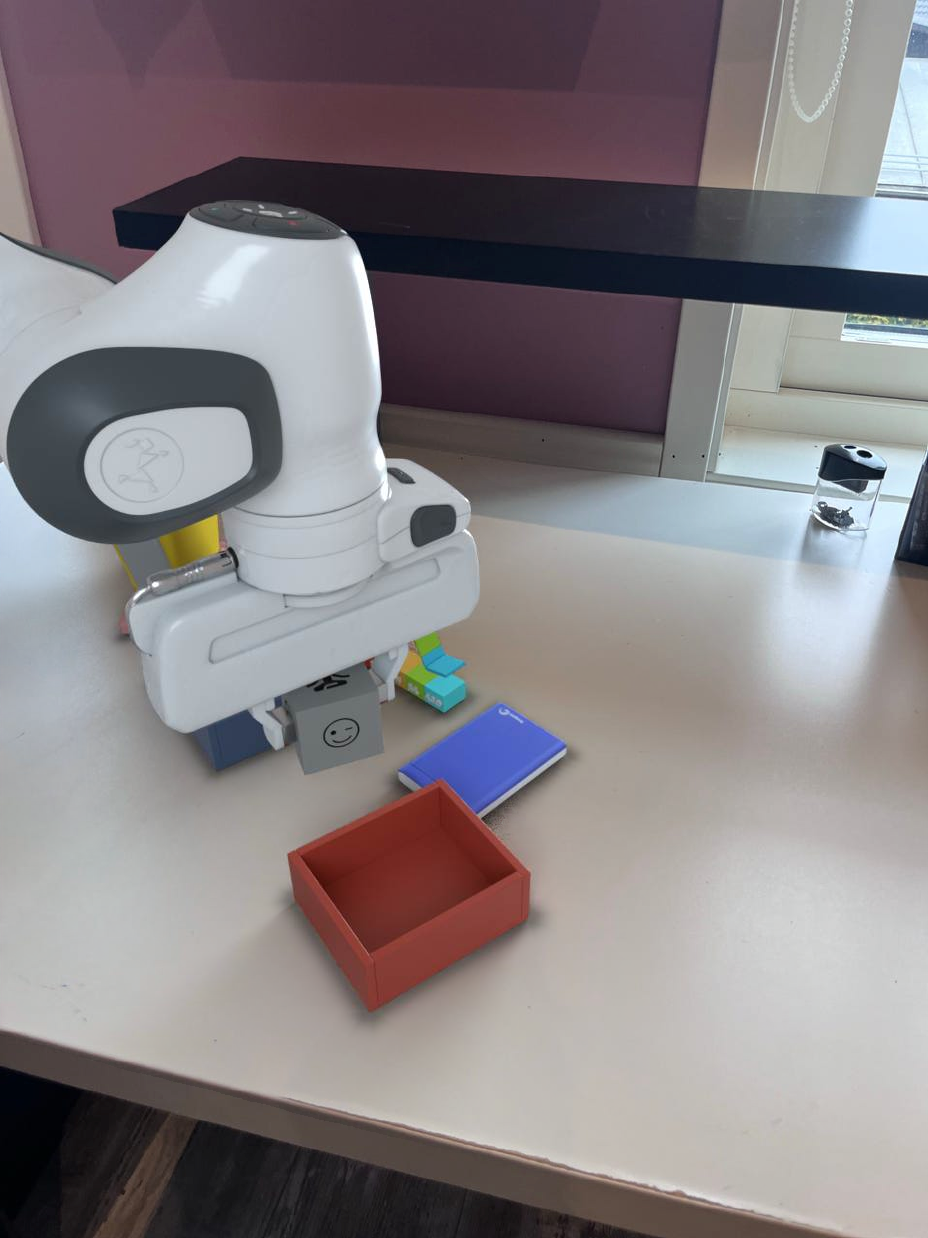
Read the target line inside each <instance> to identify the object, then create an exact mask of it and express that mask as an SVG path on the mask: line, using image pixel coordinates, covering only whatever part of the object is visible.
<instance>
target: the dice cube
mask: <svg viewBox="0 0 928 1238" xmlns="http://www.w3.org/2000/svg"><path fill="white" fill-rule="evenodd" d="M367 667H368V666H366V665H365V663H364V661H363V662H361V663H358V664H356V665H353V666H351V667H348V668H346V669H344V670H341V671H339V672H336V673H334V674H331V675H329V676H327V677H324V678H322V679H319V680H317V681H314V682H312V683H310V684H307V685H305V686H302V687H300V688H297V689H295V690H293V691H290V692H288V693H285V694H283V695H281V700H282V706H284V708H285V709H286V710H287V711H288V715H291V716H292V718H293V720H294V724H295V730H296V737H297V741H296V742H294V743H292V745H293V748H294V751H295V753H296V755H297V759H298V761H299V764H300V766H301V768H302V772H303V773H304V776H309V775H312V774H315V773H316V774H317V773H319V772H322V771H326V770H331V769H333V768H337V767H340V766H344V765H348V764H350V763H351V764H352V763H354V762H357V761H361V760H365V759H369V758H372V757H376V756H378V755H382V754H385V749H384V748H385V747H384V735H383V734H384V733H383V723H382V722H383V721H382V712H381V711H382V710H381V705H380V699H379V690H378V688H377V686H376V684H375V682H374V681H373V679H372V677H371V675H370V673H369V671H368V670H369V669H368V668H367Z"/></svg>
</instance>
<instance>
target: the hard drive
mask: <svg viewBox="0 0 928 1238" xmlns="http://www.w3.org/2000/svg"><path fill="white" fill-rule="evenodd" d="M567 748H568V747H567V743H566V742H565V741H564V740H562V739H561V738H559V737H557V736H556V735H554V734H553V733H552V732H550V731H548V730H547V729H545V728H543V727H542V726H541V725H539V724H536V723H535V722H534V721H532V720H531V719H529V718H527V717H526V716H524V715H523V714H521V713H520V712H518V711H516V710H514V709H513V708H512V707H510V706H508V705H507V704H505V703H504V702H500V701H498V702H497V703H496V704H494V705H492V706H491V707H489V708H488V709H486V710H485V711H484V712H482V713H481V714H479V715H478V716H476V717H475V718H473V719H472V720H470V721H468V722H467V723H466V724H464V725H463V726H461V727H460V728H459V729H457V730H455V731H453V732H452V733H451V734H449V735H448V736H447V737H445V738H443V739H442V740H441V741H439V742H438V743H436V744H434V745H433V746H431V747H430V748H428V749H427V750H425V751H424V752H423V753H421V754H419V755H418V756H416V757H415V758H413V759H412V760H411V761H409V762H408V763H406V764H405V765H403V766H401V767H400V768H398V769H397V774H398V780H399V781H400V782H401V784H403V786H405V787H406V788H408V789H410V791H412V793H413V792H415V791H417V790H419V789H421V788H423V787H425V786H427V785H429V784H431V783H433V782H435V781H437V780H439V779H441V778H442V779H443V780H444V781H445V782H446V783H447V784H448V785H449V786H450V787H451V788H452V789H453V790H454V791H455V792H456V793H457V795H458V796H459V797H460V798H461V799H462V800H463V801H464V802H465V803H466V804H467V805H468V806H469V807H470V808H471V810H472V811H473V812H474V813H475V814H476V815H477V816H478V817H479V818H480V819H481V820H482V818H483V817H485V816H486V815H487V814H489V813H490V812H491V811H493V810H494V809H495V808H497V807H498V806H499V805H501V804H502V803H503V802H504V801H506V800H507V799H508V798H510V797H512V795H514V794H515V793H516V792H518V791H519V790H520V789H522V788H523V787H524V786H526V785H527V784H529V783H530V782H531V781H533V780H534V779H535V778H537V777H538V776H539V775H540V774H542V773H543V772H544V771H546V770H547V769H548V768H549V767H551V766H552V765H554V764H555V763H556V762H558V761H559V760H560V759H561V758H563V757H564V756H566V754H567Z"/></svg>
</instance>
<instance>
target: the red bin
mask: <svg viewBox="0 0 928 1238" xmlns="http://www.w3.org/2000/svg"><path fill="white" fill-rule="evenodd" d="M286 854H287V855H286V856H287V861H288V863H287V864H288V868H289V875H290V879H291V885H292V892H293V898H294V901H295V902H296V904H297V906H298V907H299V908H300V909H301V911H302V912H303V914H304V916H305V917H306V918H307V920H308V922H309V924H310V925H311V927H312V929H314V931H315V932H316V934H317V935H318V937H319V939H320V940H321V941H322V943H323V944H324V946H325V947H326V949H327V950H328V952H329V953H330V955H331V956H332V958H333V960H334V961H335V962H336V964H337V965H338V967H339V968H340V969H341V971H342V973H343V975H344V977H346V979H347V980H348V982H349V984H350V985H351V986H352V988H353V989H354V991H355V993H356V994H357V995H358V996H359V999H360V1000H361V1002H362V1003H363V1004H364V1006H365V1007H366V1009H367V1011H368V1012H369V1013H371V1012H373V1011H375V1010H377V1009H378V1008H380V1007H383V1006H384V1005H385V1004H388V1003H389V1002H390V1001H392V1000H394V999H395V998H397V997H399V996H400V995H402V994H404V993H406V992H407V991H409V990H410V989H411V990H412V988H414V987H415V986H418V985H419V984H421V983H423V982H424V981H426V980H427V979H429V978H431V977H432V976H434V975H436V974H437V973H439V972H441V971H442V970H445V969H446V968H447V967H449V966H451V965H453V964H454V963H456V962H457V961H459V960H461V959H463V958H465V957H466V956H468V955H470V954H471V953H473V952H474V951H476V950H478V949H480V948H481V947H482V946H485V945H486V944H488V943H490V942H491V941H493V940H495V939H497V938H498V937H500V936H502V935H503V934H505V933H506V932H508V931H510V930H511V929H513V928H515V927H516V926H518V925H520V924H521V923H524V922H525V921H527V920H529V917H530V896H531V876H532V875H531V874H532V873H531V871H530V870H529V869H528V868H527V867H526V866H525V865H524V864H523V863H522V862H521V861H520V860H519V858H518V857H517V856H516V855H515V854H514V853H513V852H512V851H511V850H510V849H509V848H508V847H507V845H505V843H504V842H503V841H502V840H501V839H500V838H499V837H498V836H497V835H496V834H495V833H494V832H493V831H492V829H490V827H488V825H487V824H486V823H485V822H484V821H483V820H482V818H481V819H480V818H479V817H478V816H477V815H476V814H475V813H474V812H473V811H472V810H471V808H470V807H469V806H468V805H467V804H466V803H465V802H464V801H463V800H462V799H461V798H460V797H459V796H458V795H457V793H456V792H455V791H454V790H453V789H452V788H451V787H450V786H449V785H448V784H447V783H446V782H445V781H444V780H443V779H442V778H441V779H439V780H437V781H435V782H433V783H431V784H429V785H427V786H425V787H423V788H421V789H419V790H417V791H415V792H413V791H412V792H410V793H409V794H406V795H404V796H402V797H400V798H398V799H396V800H394V801H392V802H390V803H388V804H386V805H384V806H382V807H379V808H378V809H375V810H373V811H371V812H370V813H368V814H365V815H364V816H361V817H359V818H356V819H355V820H353V821H351V822H349V823H347V824H345V825H343V826H341V827H339V828H337V829H335V830H333V831H330V832H328V833H326V834H324V835H322V836H320V837H318V838H315V839H314V840H312V841H310V842H308V843H306V844H304V845H301V846H299V847H298V848H295V849H294V850H291V851H290V852H287V853H286Z"/></svg>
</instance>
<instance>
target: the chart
mask: <svg viewBox="0 0 928 1238" xmlns="http://www.w3.org/2000/svg"><path fill="white" fill-rule="evenodd" d="M413 643H414V645H415V647H416V650H417V652H418V654H417V653H416V652H414V651H412V650H411V649H409V654H408V656H407V658H406V660H405V662H404V663H403V665H402V667H401V669H400V671H399V673H398V675H397V677H396V679H394V684H396V685H397V686H398V687H400V688H402V689H404V690H406V691H407V692H409V693H411V694H412V695H414V696H415V697H418V699H420V700H422V701H424V702H425V703H427V704H429V705H431V706H432V707H434V708H436V709H437V710H438V711H440V712H442V713H446V712H448V711H449V710H450V709H451V708H453V707H454V706H456V705H457V704H459V703H460V702H462V701H463V700H465V699H466V697H467V696H466V695H467V693H466V692H467V691H466V689H467V685H466V681H465V680H463V679H461V678H460V677H458V676H457V675H454V673H455V672H457V671H459V670H460V669H462V668H463V667H464V666H466V661H465V660H463V659H460V658H457V657H453V656H452V655H449V654H446V653H445V650H444V648H443V645H442V643H441V641H440V638H439V636H438V633H437V631H436V632H434V633H431V634H429V635H426V636H424V637H422V638H419V639H417V640H414V641H413ZM374 658H375V657H373V658H370V659H368V660H366V661H364V663H365V665H366V667H368V668H369V669H371V666H372V663H373V661H374Z"/></svg>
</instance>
